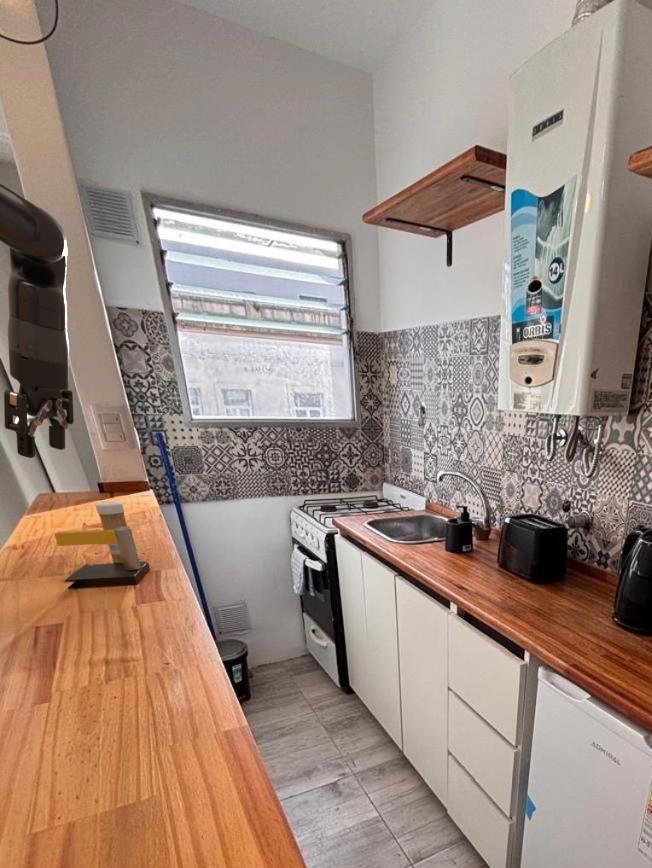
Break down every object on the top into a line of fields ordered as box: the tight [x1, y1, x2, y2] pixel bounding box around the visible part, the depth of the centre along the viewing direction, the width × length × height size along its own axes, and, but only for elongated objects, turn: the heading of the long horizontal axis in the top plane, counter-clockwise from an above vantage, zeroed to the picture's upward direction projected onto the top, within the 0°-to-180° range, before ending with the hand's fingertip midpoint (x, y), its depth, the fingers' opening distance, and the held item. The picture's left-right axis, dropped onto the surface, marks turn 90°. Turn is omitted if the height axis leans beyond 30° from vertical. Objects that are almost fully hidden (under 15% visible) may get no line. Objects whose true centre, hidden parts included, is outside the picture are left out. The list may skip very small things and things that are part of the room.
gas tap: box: [53, 526, 141, 570], centre depth 101 cm, size 12×3×8 cm, turn 107°
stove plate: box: [64, 560, 151, 590], centre depth 103 cm, size 12×10×2 cm
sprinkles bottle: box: [95, 501, 128, 563], centre depth 108 cm, size 5×5×13 cm
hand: (42, 452), depth 90 cm, fingers open, 8 cm apart
